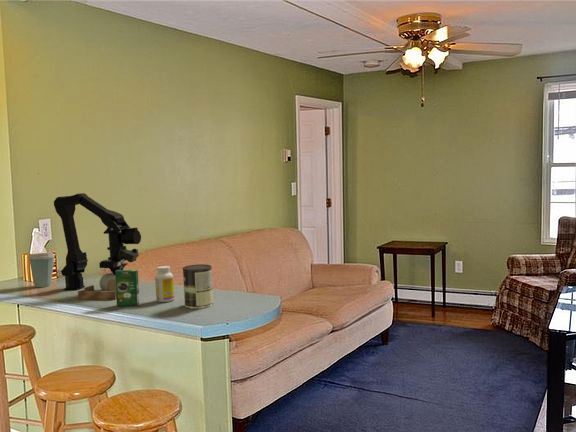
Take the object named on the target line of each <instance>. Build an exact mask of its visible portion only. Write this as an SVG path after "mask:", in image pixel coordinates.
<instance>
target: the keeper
mask: <svg viewBox="0 0 576 432" xmlns="http://www.w3.org/2000/svg"><path fill="white" fill-rule="evenodd" d="M83 288H84V289H83V290H78V291H77V296H78V300H109V301H110V300H113V301H115V300H116V301H117V299H116V290H114V291H103V290H95V285H94V284H93V285H92V284H91V285H88V286H85V287H83Z"/></svg>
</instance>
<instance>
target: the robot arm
mask: <svg viewBox="0 0 576 432" xmlns="http://www.w3.org/2000/svg"><path fill="white" fill-rule="evenodd" d="M77 205H80V206H82V207H83V208H85V209H86V210H88V211H89V212H91V213H92V214H93V215H95V216H97V218H99V219H100V220H101V222H102V224H103V225H105V226H106V229H105V230H104V231H103V232H102V233H103V234H104V235H105V234H106V235H108V246H109V247H107V251H109V256H108V257H107V259H103V260H101V261H100V262H99V269H109V270H110V271H111V274H113V275H115V271H116V270H125V268H126V266H127V265H129V263H134V262H136V261H137V258H138V257H139V250H138V249H137V248H133V249H131V250H129V249H127V245H138V244H140V243H141V241H142V234H141V232H140V231H139V229H138V227H135V226H134V227H130V226H129V223H127V221H126V220H125V216H124V215H123V214H121V213H119V212H117V211H114V210H110V209H108V208H106V207H105V206H103V205H102V204H101V203H99V202H97V201H96V200H95V199H93V198H92V197H90V196H88V194H86V193H85V192H81V193H80V192H79V193H76V194H73V195H65V196H57V197H56V198H55V199H54V200H53V206H54V210H55V213H57V215H58V216H59V217H60V219H61V224H62V225H61V226H62V229H63V233H64V239H65V243H66V248H67V254H66V257H65V266H64V267H63V268H62V269H61V270H60V272H61V276H62V277H64V282H65V287H63V290H65V291H66V290H67V291H68V290H69V291H77V290H78V291H79V290H81V289H83V288H86V285H84V277H83V273H85V270H86V267H87V266H88V262H89V259H88V257H87V252H85V251H84V252H83V251H82V250H81V247H80V243H79V238H78V232H77V227H76V223H75V217H74V216H75V213H76V212H75V211H76V206H77ZM125 261H127V262H128V263H127V262H125Z"/></svg>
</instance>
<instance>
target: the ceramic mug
mask: <svg viewBox="0 0 576 432" xmlns="http://www.w3.org/2000/svg"><path fill="white" fill-rule="evenodd" d="M99 288H100V289H101V291H114V290H116V277H115V275H113V273H112V272H111V273H105V274H103V275H102V276H101V277H100V279H99Z"/></svg>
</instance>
